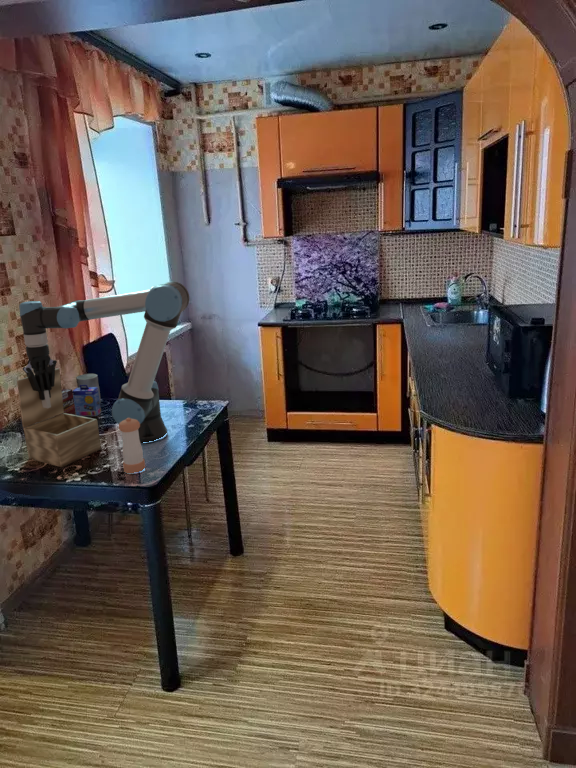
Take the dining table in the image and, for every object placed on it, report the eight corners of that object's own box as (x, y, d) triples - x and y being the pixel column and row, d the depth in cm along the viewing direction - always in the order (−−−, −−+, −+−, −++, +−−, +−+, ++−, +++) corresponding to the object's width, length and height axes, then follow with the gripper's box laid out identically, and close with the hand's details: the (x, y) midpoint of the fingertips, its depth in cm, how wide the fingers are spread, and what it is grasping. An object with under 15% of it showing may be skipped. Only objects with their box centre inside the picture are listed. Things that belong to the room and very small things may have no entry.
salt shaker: (120, 474, 188) (113, 421, 183) (129, 465, 195) (123, 414, 189) (140, 475, 187) (133, 422, 181) (149, 466, 193) (143, 414, 188)
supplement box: (66, 431, 231) (60, 395, 226) (56, 431, 231) (50, 394, 227) (78, 424, 239) (72, 389, 234) (68, 423, 240) (62, 388, 235)
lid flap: (59, 368, 210) (58, 368, 210) (17, 380, 195) (16, 380, 196) (63, 412, 216) (62, 412, 216) (23, 427, 201) (22, 427, 201)
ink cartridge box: (75, 416, 248) (70, 385, 244) (80, 412, 254) (75, 382, 250) (97, 416, 248) (92, 385, 244) (101, 412, 253) (97, 381, 249)
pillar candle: (79, 402, 269) (74, 372, 265) (100, 399, 273) (96, 369, 268) (80, 408, 260) (76, 377, 256) (102, 404, 264) (98, 374, 260)
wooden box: (101, 448, 211) (97, 419, 207) (62, 467, 196) (56, 435, 192) (68, 441, 219) (64, 413, 216) (29, 458, 204) (23, 428, 201)
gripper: (45, 340, 206) (54, 401, 213) (13, 347, 195) (24, 411, 202) (59, 342, 202) (68, 403, 209) (27, 349, 192) (38, 414, 198)
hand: (46, 407), depth 205 cm, fingers closed
